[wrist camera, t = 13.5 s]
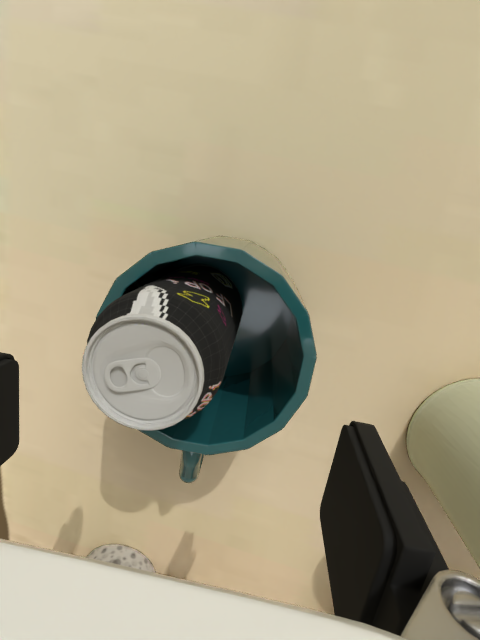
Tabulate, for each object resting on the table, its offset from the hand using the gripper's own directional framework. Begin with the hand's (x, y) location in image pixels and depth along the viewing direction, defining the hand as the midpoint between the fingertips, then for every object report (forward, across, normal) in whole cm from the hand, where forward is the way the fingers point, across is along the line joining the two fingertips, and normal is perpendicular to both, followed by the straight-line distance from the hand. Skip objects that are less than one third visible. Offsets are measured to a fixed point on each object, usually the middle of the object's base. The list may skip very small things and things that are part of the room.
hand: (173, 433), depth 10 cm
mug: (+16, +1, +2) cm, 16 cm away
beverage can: (+15, +2, 0) cm, 15 cm away
